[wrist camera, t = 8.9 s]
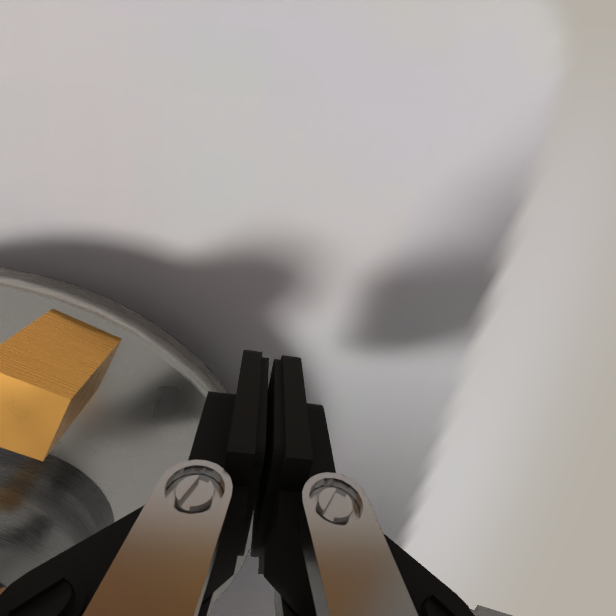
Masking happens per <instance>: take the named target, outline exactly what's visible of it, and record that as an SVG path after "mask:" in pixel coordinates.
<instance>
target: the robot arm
mask: <svg viewBox="0 0 616 616" xmlns="http://www.w3.org/2000/svg"><path fill="white" fill-rule="evenodd" d="M268 368H269V358H264V357H262V352H257V351H250V350H244V351H243V357H242V363H241V369H240V375H239V381H238V387H237V393H236V394H229V393H221V392H213V391H208V394H207V397H206V400H205V404H204V407H203V411H202V414H201V418H200V421H199V425H198V428H197V431H196V435H195V438H194V442H193V445H192V449H191V452H190V456H189V459H188V461H184V462H182V463H179V464H176V465H174V466H173V467H171V468H170V469H169V470H167V471H166V472H165V473H164V474H163V475H162V477H161V478H160V479H159V481H158V483H157V484H156V486H155V488H154V490H153V491H152V493H151V495H150V497H149V498H148V500H147V502H146V504H145V505H144V506H142V507H140V508H138V509H137V510H135V511H133V512H131V513H130V514H128V515H126V516H124V517H123V518H121V519H119V520H117V521H116V522H114V523H112V524H110V525H109V526H107V527H105V528H104V529H102V530H100V531H98V532H97V533H95V534H93V535H91V536H90V537H88V538H86V539H84V540H83V541H81V542H79V543H77V544H76V545H74V546H72V547H70V548H69V549H67V550H65V551H64V552H62V553H60V554H58V555H57V556H55V557H53V558H51V559H50V560H48V561H46V562H44V563H43V564H41V565H39V566H37V567H36V568H34V569H32V570H30V571H29V572H27V573H26V574H24V575H23V576H21V577H20V578H18V579H17V580H16V581H14V582H13V583H11V584H10V585H9V586H8V587H4V588H0V616H209V612H210V609H211V605H212V601H213V596H214V592H215V591H216V590H217V589H218V588H219V587H220V586H221V585H223V584H224V583H225V582H226V581H227V580H228V579H229V578H230V577H232V576H233V575H234V571H235V566H236V562H237V557H238V556H244V553H245V548H246V544H247V539H248V534H249V530H250V525H251V520H252V516H253V527H252V543H251V557H259V572H258V574H264V577H265V578H266V579H267V580H268V581H269V583H270V584H271V585H272V586H273V587H274V588H275V589H276V590H275V609H276V616H512V615H508V614H505V613H502V612H499V611H495V610H492V609H489V608H486V607H482V606H479V605H477V607H476V609H475V610H472V609H469V607H468V606H467V605H466V603H465V602H464V601H463V600H462V599H461V598H460V597H458V595H457V594H456V593H454V592H453V591H452V590H451V589H450V588H448V587H447V586H446V585H445V584H444V583H442V582H441V581H440V580H439V579H437V578H436V577H435V576H434V575H432V574H431V573H430V572H429V571H428V570H427V569H426V568H424V567H423V566H422V565H421V564H420V563H418V562H417V561H416V560H415V559H414V558H412V557H411V556H410V555H409V554H408V553H406V552H405V551H404V550H403V549H402V548H400V547H399V546H398V545H397V544H396V543H394V542H393V541H392V540H391V539H390V538H388V537H387V536H386V535H385V534H384V533H383V532H382V530H381V527H380V525H379V523H378V520H377V518H376V516H375V513H374V511H373V509H372V507H371V504H370V502H369V500H368V498H367V496H366V494H365V493H364V491H363V489H362V488H361V487H360V486H359V485H358V484H357V483H356V482H354V481H352V480H351V479H349V478H348V477H346V476H343V475H340V474H337V473H336V471H335V466H334V461H333V455H332V450H331V445H330V439H329V434H328V429H327V423H326V418H325V413H324V408H323V406H322V405H316V404H308V403H306V396H305V387H304V379H303V371H302V363H301V358H298V357H291V356H284V355H282V357H281V360H278V359H274V362H273V367H272V372H271V377H270V382H269V387H268ZM253 511H254V512H253Z"/></svg>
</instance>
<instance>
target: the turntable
mask: <svg viewBox="0 0 616 616" xmlns="http://www.w3.org/2000/svg"><path fill="white" fill-rule="evenodd" d="M208 391H213V392H221V393H228V392H227V391H226V389H225V388H224V387H223V385H222V384H221V382H220V381H219V380H218V379H217V378H216V377H215V376H214V374H213V373H212V372H211V371H210V370H209V369H208V368H207V367H206V366H205V364H204V363H203V362H202V361H201V360H200V359H199V358H198V357H196V356H195V355H194V354H193V353H192V352H191V351H190V350H188V349H187V348H186V347H185V346H184V345H183V344H181V343H180V342H179V341H178V340H177V339H176V338H174V337H173V336H171V335H170V334H168V333H167V332H166V331H164V330H163V329H161V328H160V327H158V326H157V325H155V324H154V323H152V322H151V321H149V320H148V319H146V318H145V317H143V316H141V315H139V314H137V313H135V312H133V311H132V310H130V309H128V308H126V307H124V306H122V305H120V304H118V303H116V302H115V301H113V300H111V299H108V298H106V297H103V296H101V295H98V294H95V293H93V292H90V291H88V290H85V289H83V288H80V287H78V286H75V285H72V284H69V283H65V282H62V281H58V280H55V279H51V278H47V277H44V276H40V275H37V274H33V273H27V272H21V271H15V270H9V269H3V268H0V447H1V448H4V449H7V450H10V451H13V452H16V453H19V454H22V455H25V456H28V457H31V458H34V459H37V460H40V461H44V459H45V458H46V457H47V455H48V454H50V455H53V456H56V457H58V458H60V459H62V460H64V461H66V462H68V463H69V464H71V465H73V466H74V467H76V468H77V469H79V470H80V471H82V472H83V473H84V474H85V475H87V476H88V477H89V478H90V479H91V480H92V481H93V482H94V483H95V484H96V485H97V486H98V487H99V488H100V490H101V491H102V492H103V494H104V495H105V497H106V498H107V500H108V502H109V504H110V506H111V509H112V512H113V517H114V522H116V521H117V520H119V519H121V518H123V517H124V516H126V515H128V514H130V513H131V512H133V511H135V510H137V509H138V508H140V507H142V506H144V505H145V504H146V502H147V500H148V498H149V497H150V495H151V493H152V491H153V490H154V488H155V486H156V484H157V483H158V481H159V479H160V478H161V477H162V475H163V474H164V473H165V472H166V471H167V470H169V469H170V468H171V467H173V466H174V465H176V464H179V463H182V462H184V461H188V459H189V456H190V452H191V449H192V445H193V442H194V438H195V435H196V431H197V428H198V425H199V421H200V418H201V414H202V411H203V407H204V404H205V400H206V397H207V394H208ZM253 512H254V511H253ZM252 527H253V516H252V520H251V525H250V530H249V534H248V539H247V544H246V548H245V553H244V556H238V557H237V562H236V566H235V571H234V575H233V576H232V577H230V578H229V579H228V580H227V581H226V582H225V583H224V584H223V585H221V586H220V587H219V588H218V589H217V590H216V591H215V592H214V596H213V601H212V603H213V602H215V601H216V600H217V599H218V598H219V597H220V595H221V594H222V593H223V592H224V591H225V590H226V589H227V588H228V586H229V585H230V584H231V583H232V581H233V580H234V578H235V577H236V575H237V573H238V572H239V570H240V569H241V567H242V565H243V563H244V561H245V558H246V556H247V554H248V551H249V549H250V546H251V542H252Z"/></svg>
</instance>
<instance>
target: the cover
mask: <svg viewBox="0 0 616 616" xmlns="http://www.w3.org/2000/svg"><path fill="white" fill-rule="evenodd" d="M112 523H114V517H113V512H112V509H111V506H110V504H109V502H108V500H107V498H106V497H105V495H104V494H103V492H102V491H101V490H100V488H99V487H98V486H97V485H96V484H95V483H94V482H93V481H92V480H91V479H90V478H89V477H88V476H87V475H85V474H84V473H83V472H82V471H80V470H79V469H77V468H76V467H74V466H73V465H71V464H69V463H68V462H66V461H64V460H62V459H60V458H58V457H56V456H53V455H50V454H48V455H47V457H46V458H45V459H44V461H40V460H37V459H34V458H31V457H28V456H25V455H22V454H19V453H16V452H13V451H10V450H7V449H4V448H1V447H0V588H4V587H8V586H9V585H10V584H11V583H13V582H14V581H16V580H17V579H18V578H20V577H21V576H23V575H24V574H26V573H27V572H29V571H30V570H32V569H34V568H36V567H37V566H39V565H41V564H43V563H44V562H46V561H48V560H50V559H51V558H53V557H55V556H57V555H58V554H60V553H62V552H64V551H65V550H67V549H69V548H70V547H72V546H74V545H76V544H77V543H79V542H81V541H83V540H84V539H86V538H88V537H90V536H91V535H93V534H95V533H97V532H98V531H100V530H102V529H104V528H105V527H107V526H109V525H110V524H112Z"/></svg>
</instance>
